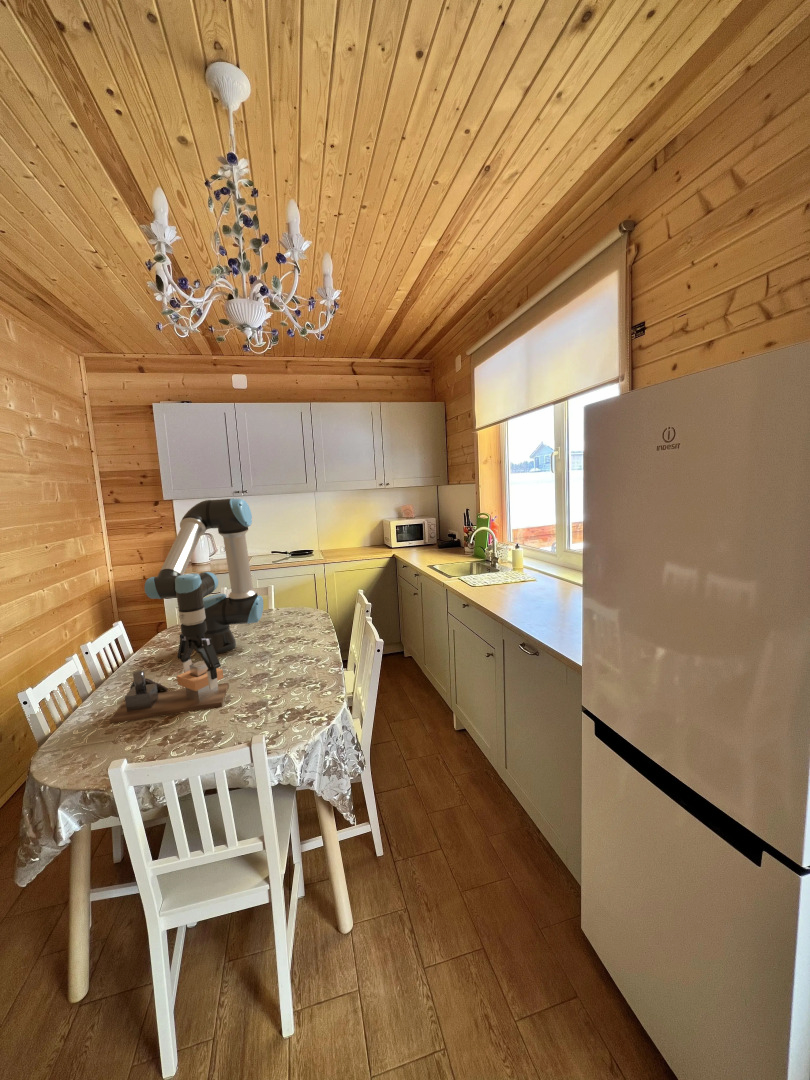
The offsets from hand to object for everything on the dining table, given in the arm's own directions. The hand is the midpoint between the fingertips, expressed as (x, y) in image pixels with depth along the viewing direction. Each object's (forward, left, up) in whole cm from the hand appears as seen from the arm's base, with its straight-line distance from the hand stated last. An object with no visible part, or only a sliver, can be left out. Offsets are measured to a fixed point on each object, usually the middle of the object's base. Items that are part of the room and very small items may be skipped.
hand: (201, 683), depth 145 cm
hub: (0, 0, -4) cm, 4 cm away
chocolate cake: (-11, -19, -6) cm, 23 cm away
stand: (0, -18, -4) cm, 18 cm away
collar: (0, 0, +1) cm, 1 cm away
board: (0, -9, -6) cm, 11 cm away
